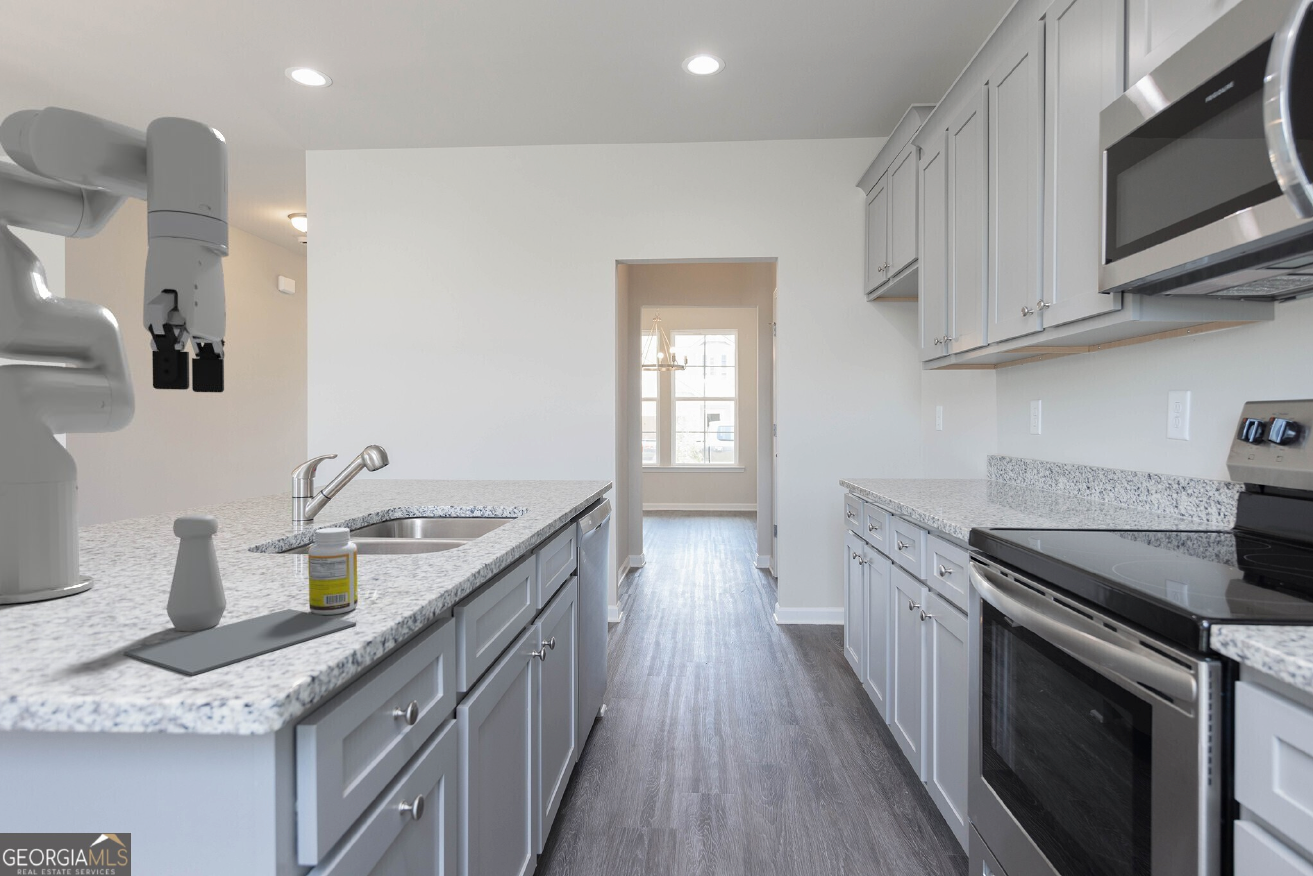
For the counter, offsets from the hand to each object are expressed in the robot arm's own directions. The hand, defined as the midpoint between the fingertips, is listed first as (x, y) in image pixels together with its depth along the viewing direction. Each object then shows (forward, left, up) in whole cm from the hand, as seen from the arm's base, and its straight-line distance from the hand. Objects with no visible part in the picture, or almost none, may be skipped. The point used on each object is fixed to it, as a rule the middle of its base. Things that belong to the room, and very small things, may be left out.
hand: (190, 390), depth 77 cm
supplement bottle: (+6, +13, -28) cm, 31 cm away
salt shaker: (-2, +1, -28) cm, 28 cm away
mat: (+8, +1, -27) cm, 28 cm away
